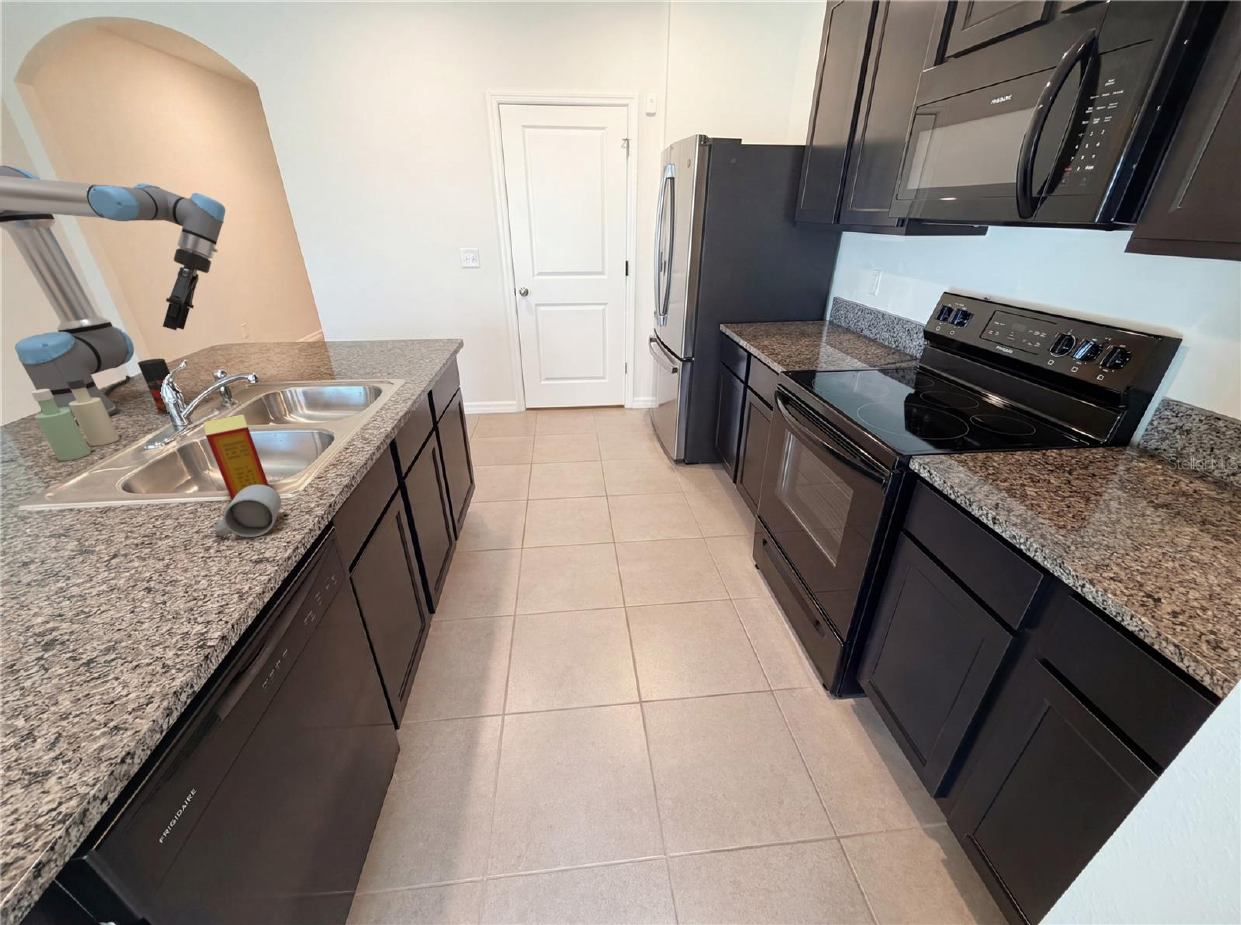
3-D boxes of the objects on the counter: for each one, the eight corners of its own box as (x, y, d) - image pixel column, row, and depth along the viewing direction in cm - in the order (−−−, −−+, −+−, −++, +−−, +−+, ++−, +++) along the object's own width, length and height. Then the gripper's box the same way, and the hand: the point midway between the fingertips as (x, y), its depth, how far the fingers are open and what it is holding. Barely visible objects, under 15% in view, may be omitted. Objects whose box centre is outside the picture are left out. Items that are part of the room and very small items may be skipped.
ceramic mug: (287, 510, 99) (274, 476, 96) (280, 532, 92) (266, 495, 89) (223, 523, 95) (207, 487, 92) (211, 546, 88) (193, 509, 85)
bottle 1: (66, 452, 125) (32, 388, 117) (96, 449, 126) (63, 385, 119) (52, 462, 120) (15, 395, 112) (83, 458, 121) (48, 393, 114)
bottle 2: (96, 438, 132) (66, 377, 125) (124, 435, 134) (95, 375, 127) (84, 447, 127) (51, 384, 120) (112, 444, 129) (82, 381, 122)
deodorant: (188, 409, 153) (168, 360, 146) (164, 415, 148) (142, 364, 141) (179, 405, 155) (159, 357, 149) (155, 411, 151) (134, 362, 144)
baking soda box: (231, 490, 107) (202, 419, 100) (267, 481, 110) (242, 412, 103) (235, 508, 100) (205, 434, 93) (273, 497, 104) (247, 425, 97)
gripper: (207, 255, 130) (184, 334, 131) (216, 264, 150) (196, 332, 151) (169, 241, 126) (146, 323, 127) (183, 252, 146) (163, 322, 147)
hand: (173, 328), depth 139 cm, fingers open, 13 cm apart
